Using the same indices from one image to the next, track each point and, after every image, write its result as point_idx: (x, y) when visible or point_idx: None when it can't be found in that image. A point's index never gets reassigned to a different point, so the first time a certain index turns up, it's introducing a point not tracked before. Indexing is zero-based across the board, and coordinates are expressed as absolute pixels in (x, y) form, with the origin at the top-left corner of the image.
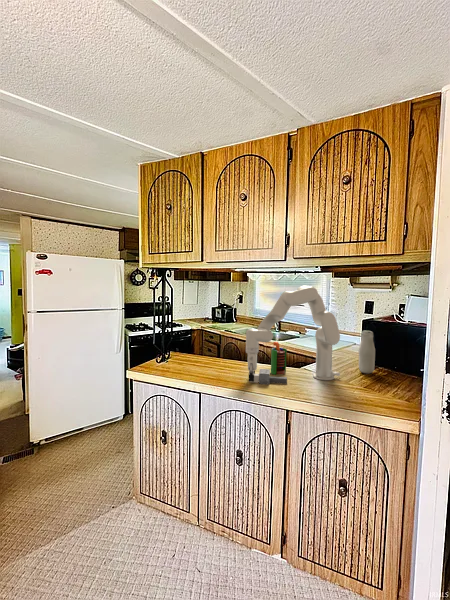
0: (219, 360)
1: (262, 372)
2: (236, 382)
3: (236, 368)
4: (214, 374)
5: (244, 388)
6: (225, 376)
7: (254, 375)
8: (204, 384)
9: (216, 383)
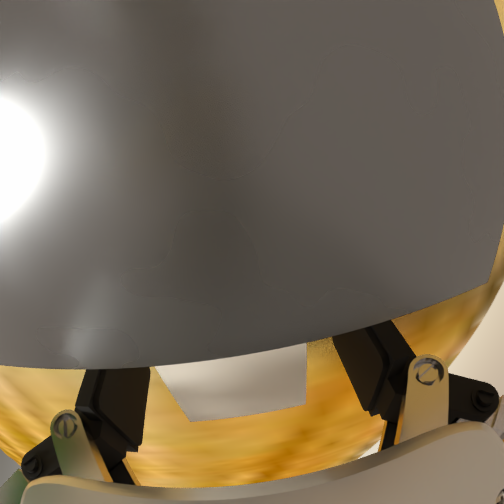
0: (7, 449)
1: (404, 192)
2: (323, 398)
3: (13, 421)
4: (190, 479)
5: (468, 294)
6: (196, 459)
7: (295, 349)
8: (367, 450)
9: (353, 440)
